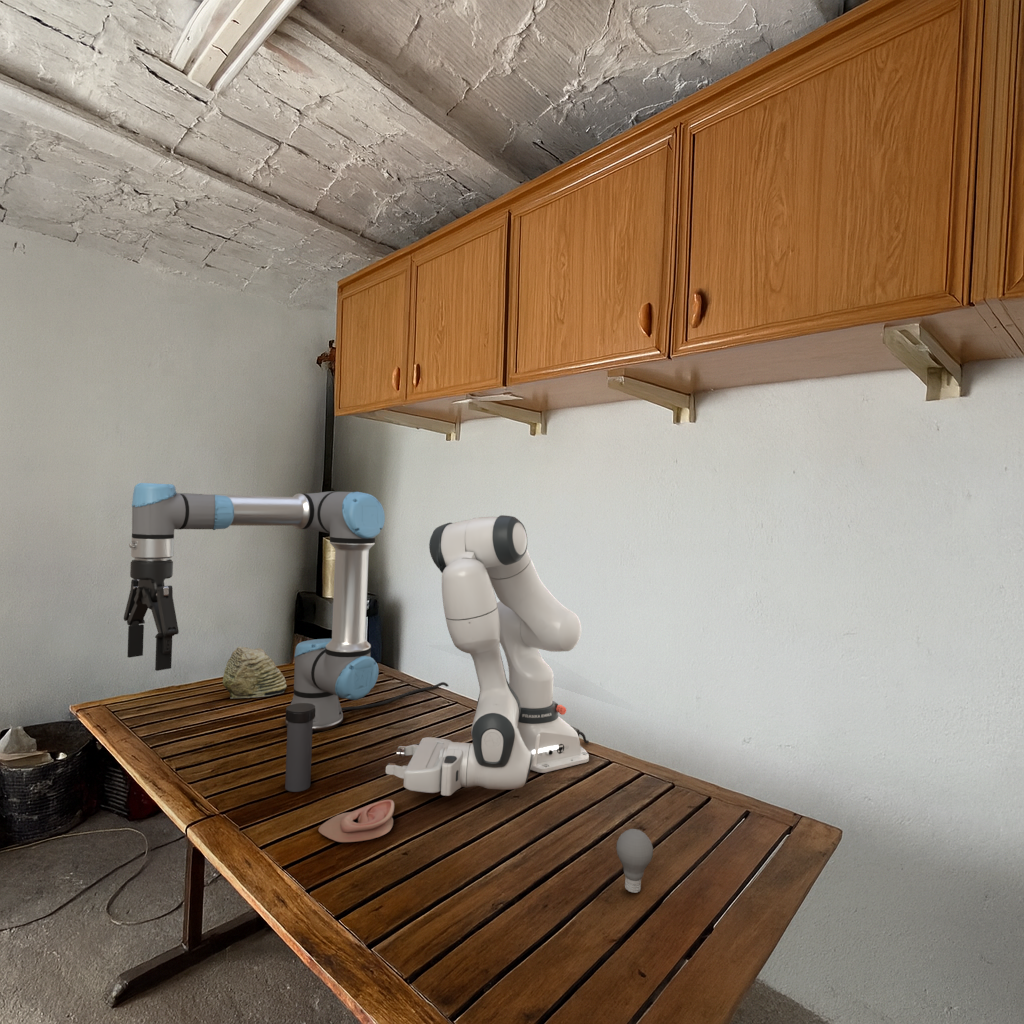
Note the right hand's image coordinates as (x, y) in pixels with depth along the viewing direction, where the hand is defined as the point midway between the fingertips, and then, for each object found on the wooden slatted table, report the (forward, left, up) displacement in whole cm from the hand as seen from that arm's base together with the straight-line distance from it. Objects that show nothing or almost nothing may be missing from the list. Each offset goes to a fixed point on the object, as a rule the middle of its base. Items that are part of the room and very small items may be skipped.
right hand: (391, 759), depth 137 cm
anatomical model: (+9, +13, -7) cm, 17 cm away
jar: (+18, -9, -7) cm, 22 cm away
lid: (+18, -9, +10) cm, 23 cm away
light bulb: (-31, +46, -7) cm, 56 cm away
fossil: (+27, -77, -7) cm, 82 cm away
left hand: (+48, -12, +21) cm, 54 cm away
